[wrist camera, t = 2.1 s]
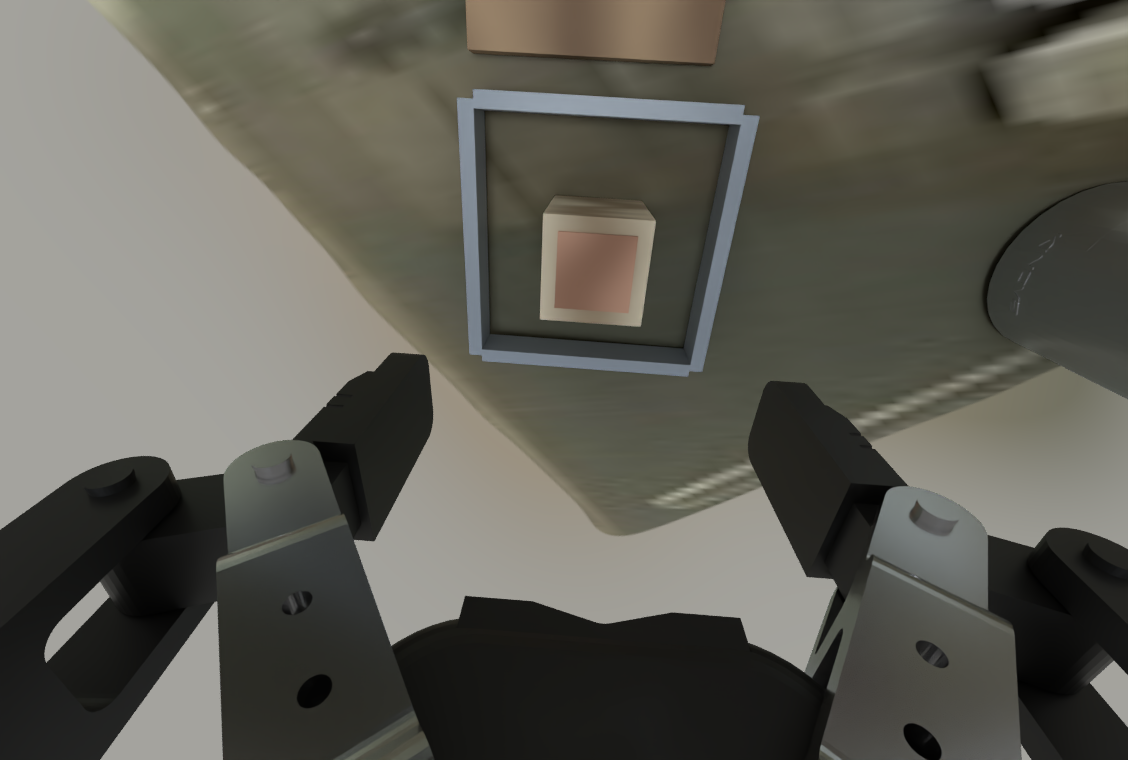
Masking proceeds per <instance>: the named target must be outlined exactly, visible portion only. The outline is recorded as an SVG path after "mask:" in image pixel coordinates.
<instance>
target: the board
mask: <svg viewBox="0 0 1128 760" xmlns="http://www.w3.org/2000/svg"><path fill="white" fill-rule="evenodd" d="M725 1H726V0H466V21H467V47H468V50H469V51H471V52H472V53H477V54H494V55H512V56H529V57H546V58H564V59H584V60H603V61H623V62H642V63H662V64H681V65H701V66H711V65H713V64H715V58H716V52H717V46H718V41H719V35H720V29H721V24H722V18H723V12H724V7H725Z"/></svg>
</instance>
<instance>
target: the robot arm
mask: <svg viewBox="0 0 1128 760" xmlns="http://www.w3.org/2000/svg"><path fill="white" fill-rule="evenodd" d="M987 305H988V314H989V316H990V318H991V321H992V323H993V325H994V326H995V328H996V329H997V330H998V331H999V332H1000V333H1001V334H1002V335H1003V336H1005V337H1006V338H1008V339H1010V340H1011V341H1013V342H1015V343H1017V344H1019V345H1021V346H1023V347H1025V348H1027V349H1029V350H1031V351H1033V352H1035V353H1037V354H1039V355H1041V356H1043V357H1045V358H1047V359H1049V360H1051V361H1053V362H1055V363H1057V364H1059V365H1061V366H1063V367H1065V368H1066V369H1068V370H1070V371H1072V372H1075V373H1076V374H1078V375H1080V376H1082V377H1084V378H1086V379H1088V380H1090V381H1092V382H1094V383H1096V384H1099V385H1100V386H1102V387H1104V388H1106V389H1109V390H1110V391H1112V392H1114V393H1116V394H1118V395H1120V396H1122V397H1125V398H1127V399H1128V182H1127V181H1126V182H1119V183H1111V184H1104V185H1101V186H1098V187H1095V188H1091V189H1088V190H1085V191H1082V192H1080V193H1078V194H1076V195H1074V196H1072V197H1070V198H1068V199H1065V200H1063V201H1061V202H1060V203H1058V204H1057V205H1055V206H1054V207H1052V208H1051V209H1049V210H1048V211H1046V212H1044V213H1043V214H1041V215H1040V216H1039V217H1038V218H1037V219H1035V220H1034V221H1033V222H1032V223H1031V224H1030V225H1029V226H1027V227H1026V228H1025V229H1024V230H1023V231H1022V232H1021V233H1020V234H1019V235H1018V236H1017V238H1016V239H1015V240H1014V241H1013V242H1012V243H1011V245H1010V246H1009V247H1008V248H1007V250H1006V251H1005V253H1004V254H1003V256H1002V258H1001V259H1000V261H999V262H998V264H997V266H996V268H995V271H994V273H993V276H992V278H991V281H990V283H989V289H988V295H987ZM432 424H433V406H432V395H431V385H430V374H429V365H428V360H427V358H426V356H425V355H419V354H405V353H391V354H390V355H389V356H388V357H387V358H386V359H385V360H384V361H383V362H382V364H381V365H380V366H379V367H378V368H377V369H376V370H375V371H374V372H372V371H367V372H365V373H363V374H362V375H360V376H358V377H356V378H354V379H352V380H350V381H349V382H347V384H346V385H345V386H344V387H343V388H342V389H341V390H340V391H339V392H338V393H337V396H334V397H333V398H332V399H331V400H330V401H329V402H328V403H327V406H326V407H323V408H322V410H321V411H320V412H319V413H318V414H317V415H316V416H315V417H314V418H313V419H312V420H311V421H310V422H309V423H308V424H307V425H306V426H305V427H304V428H303V429H302V430H301V431H300V432H299V433H298V434H297V435H296V437H295V438H294V439H293V440H283V441H277V442H272V443H268V444H265V445H261V446H259V447H256V448H254V449H252V450H250V451H248V452H246V453H244V454H243V455H241V456H239V457H238V458H237V459H235V460H234V461H233V462H232V463H231V464H230V465H229V466H228V468H227V469H226V471H225V473H224V474H219V475H213V476H204V477H197V478H189V479H182V480H176V479H175V477H174V475H173V473H172V470H171V468H170V466H169V464H168V463H167V462H166V461H165V460H163V459H161V458H158V457H152V456H138V457H130V458H124V459H120V460H116V461H112V462H109V463H105V464H102V465H100V466H97V467H94V468H92V469H90V470H88V471H85V472H83V473H81V474H79V475H78V476H76V477H74V478H72V479H71V480H69V481H68V482H66V483H65V484H64V485H62V486H61V487H59V488H58V489H56V490H55V491H54V492H52V493H51V494H50V495H48V496H47V497H45V498H44V499H43V500H41V501H40V502H39V503H37V504H36V505H34V506H33V507H31V508H30V509H29V510H27V511H26V512H25V513H23V514H22V515H20V516H19V517H18V518H16V519H15V520H13V521H12V522H11V523H9V524H8V525H6V526H5V527H4V528H2V529H1V530H0V760H100V759H101V758H102V756H103V755H104V753H105V752H106V751H107V749H108V748H109V747H110V745H111V744H112V742H113V741H114V740H115V738H116V737H117V736H118V734H119V733H120V732H121V730H122V729H123V727H124V726H125V725H126V723H127V722H128V720H129V719H130V718H131V716H132V715H133V714H134V712H135V711H136V709H137V708H138V707H139V705H140V704H141V703H142V701H143V700H144V698H145V697H146V696H147V694H148V693H149V692H150V690H151V689H152V687H153V686H154V685H155V683H156V682H157V681H158V679H159V677H160V676H161V675H162V674H163V672H164V671H165V670H166V668H167V667H168V665H169V664H170V662H171V661H172V659H173V658H174V657H175V656H176V654H177V653H178V652H179V650H180V649H181V647H182V646H183V645H184V643H185V642H186V641H187V639H188V638H189V636H190V635H191V634H192V632H193V631H194V630H195V628H196V627H197V625H198V624H199V623H200V621H201V620H202V618H203V617H204V616H205V614H206V613H207V611H208V610H209V609H210V607H211V606H212V605H213V603H214V602H216V601H217V604H218V633H219V662H220V690H221V718H222V747H223V760H1022V757H1021V744H1022V746H1023V748H1024V749H1025V750H1026V752H1027V754H1028V755H1029V757H1030V758H1031V760H1128V727H1127V726H1126V725H1125V724H1124V722H1123V721H1122V720H1121V719H1120V718H1119V717H1118V715H1117V714H1116V713H1115V712H1114V711H1113V710H1112V708H1111V707H1110V706H1109V705H1108V704H1107V703H1106V701H1105V700H1104V699H1103V698H1102V697H1101V695H1100V694H1099V693H1098V692H1097V691H1096V690H1095V689H1094V687H1093V686H1092V685H1091V684H1090V682H1091V681H1092V680H1093V679H1094V678H1095V677H1096V676H1097V675H1098V674H1099V673H1101V672H1102V671H1103V670H1104V669H1105V668H1106V667H1107V666H1108V665H1109V664H1110V663H1112V662H1113V661H1115V662H1116V663H1117V664H1118V665H1119V666H1120V667H1121V668H1122V669H1123V670H1124V671H1125V673H1126V674H1128V549H1126V548H1124V547H1123V546H1121V545H1119V544H1116V543H1114V542H1112V541H1110V540H1108V539H1105V538H1103V537H1100V536H1097V535H1094V534H1091V533H1088V532H1085V531H1081V530H1077V529H1070V528H1054V529H1051V530H1049V531H1048V532H1047V533H1046V534H1045V536H1044V537H1043V538H1042V539H1041V541H1040V542H1039V543H1038V544H1037V546H1036V547H1035V548H1033V547H1029V546H1025V545H1022V544H1018V543H1015V542H1011V541H1008V540H1004V539H1000V538H997V537H993V536H989V535H987V532H986V530H985V528H984V527H983V525H982V524H981V522H980V521H979V520H978V519H977V518H976V517H975V516H973V515H972V514H971V513H970V512H969V511H967V510H966V509H965V508H963V507H962V506H960V505H959V504H957V503H955V502H954V501H952V500H950V499H948V498H946V497H944V496H942V495H939V494H937V493H934V492H931V491H928V490H925V489H921V488H916V487H910V486H908V485H907V484H906V483H905V482H904V481H903V480H902V479H901V477H900V476H899V475H898V474H897V473H896V472H895V471H894V470H893V468H892V467H891V466H890V465H889V464H888V463H887V462H886V461H885V460H884V459H883V457H882V456H881V455H880V454H879V453H878V452H877V451H876V450H875V449H872V446H871V444H870V443H869V442H868V441H867V440H866V439H865V437H864V436H861V433H860V432H859V431H858V430H857V429H856V427H855V426H854V425H853V424H852V423H851V422H850V421H849V420H848V419H847V418H846V417H844V416H843V415H841V414H839V413H838V412H836V411H835V410H833V409H832V408H830V407H829V406H826V405H824V404H823V403H822V401H821V400H820V399H819V398H818V397H817V396H816V394H815V393H814V392H813V391H812V390H811V389H810V387H809V386H808V385H807V384H805V383H795V382H781V381H770V382H768V383H767V384H766V386H765V388H764V390H763V393H762V397H761V400H760V403H759V406H758V410H757V413H756V416H755V419H754V422H753V426H752V429H751V432H750V436H749V441H748V453H749V459H750V462H751V464H752V466H753V468H754V470H755V472H756V474H757V476H758V478H759V480H760V482H761V484H762V486H763V488H764V490H765V492H766V494H767V497H768V499H769V500H770V503H771V505H772V507H773V509H774V511H775V513H776V515H777V517H778V519H779V521H780V523H781V525H782V527H783V529H784V531H785V533H786V535H787V537H788V539H789V541H790V543H791V545H792V548H793V550H794V551H795V553H796V556H797V558H798V559H799V561H800V564H801V566H802V568H803V570H804V572H805V574H806V576H807V577H815V578H828V579H834V581H835V583H836V584H837V588H836V590H835V591H834V593H833V595H832V597H831V599H830V602H829V605H828V608H827V611H826V613H825V616H824V619H823V622H822V625H821V628H820V630H819V633H818V636H817V639H816V642H815V644H814V647H813V650H812V653H811V656H810V658H809V661H808V664H807V667H806V670H805V672H803V671H801V670H800V669H798V668H797V667H795V666H794V665H793V664H791V663H789V662H788V661H786V660H784V659H782V658H780V657H779V656H777V655H775V654H773V653H771V652H769V651H767V650H764V649H762V648H760V647H758V646H755V645H753V644H750V643H748V641H747V638H746V635H745V632H744V628H743V625H742V622H741V619H740V618H734V617H721V616H708V615H696V614H683V613H667V614H661V615H656V616H650V617H644V618H638V619H633V620H627V621H621V622H616V623H610V624H600V623H596V622H593V621H590V620H586V619H584V618H581V617H577V616H575V615H572V614H569V613H566V612H563V611H560V610H556V609H554V608H550V607H548V606H544V605H542V604H539V603H536V602H533V601H522V600H508V599H497V598H484V597H471V596H465V599H464V602H463V606H462V610H461V614H460V617H459V619H455V620H449V621H445V622H442V623H439V624H435V625H432V626H429V627H427V628H425V629H422V630H420V631H417V632H415V633H413V634H411V635H409V636H407V637H406V638H404V639H402V640H400V641H398V642H397V643H395V644H394V645H392V646H391V644H390V641H389V639H388V636H387V633H386V630H385V627H384V625H383V622H382V619H381V616H380V613H379V610H378V608H377V605H376V602H375V599H374V596H373V593H372V591H371V588H370V585H369V583H368V579H367V576H366V574H365V571H364V569H363V565H362V563H361V560H360V557H359V554H358V551H357V548H356V545H355V543H354V540H365V541H375V539H376V537H377V535H378V533H379V531H380V530H381V527H382V526H383V524H384V522H385V520H386V518H387V516H388V514H389V512H390V510H391V508H392V507H393V505H394V503H395V501H396V499H397V497H398V495H399V493H400V491H401V489H402V487H403V486H404V484H405V482H406V480H407V478H408V476H409V474H410V472H411V470H412V468H413V467H414V465H415V463H416V461H417V459H418V457H419V455H420V453H421V451H422V449H423V447H424V445H425V444H426V442H427V440H428V438H429V436H430V433H431V428H432ZM99 582H101V583H102V585H103V587H104V588H105V590H106V591H107V593H108V595H109V596H110V597H109V598H108V599H107V600H106V601H105V602H104V603H103V604H102V605H101V607H100V608H99V609H98V610H97V611H96V612H95V613H94V614H93V615H92V616H91V617H90V618H89V619H88V620H87V621H86V622H85V623H84V624H83V625H82V626H81V628H79V629H78V630H77V631H76V633H75V634H74V635H73V636H72V637H71V638H70V639H69V640H68V641H67V642H66V643H65V644H64V645H63V646H62V647H61V648H60V650H58V652H56V654H54V655H53V657H52V658H51V659H50V660H49V661H48V662H47V663H46V662H45V658H44V652H45V646H46V643H47V640H48V638H49V636H50V634H51V632H52V630H53V629H54V628H55V626H56V625H57V624H58V622H59V621H60V620H61V619H62V618H63V617H64V616H65V615H66V614H67V613H68V612H69V611H70V610H71V609H72V608H73V607H74V606H75V605H76V604H77V603H78V602H79V601H80V600H81V599H82V598H83V597H84V596H85V595H86V594H87V593H88V592H89V591H90V590H91V589H92V588H94V587H95V585H96V584H97V583H99Z"/></svg>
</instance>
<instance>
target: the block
mask: <svg viewBox="0 0 1128 760" xmlns="http://www.w3.org/2000/svg"><path fill="white" fill-rule="evenodd" d="M655 225H656V220H655V219H654V217H653V216H652V215H651V213H650V212H649V210H648V209H647V207H646V206H645V205H644V203H643V202H642V201H638V200H624V199H610V198H595V197H579V196H564V195H555V196H554V198H553V199H552V201H551V202H550V204H549V205H548V207H547V208H546V210H545V211H544V213H543V234H542V267H541V299H540V319H542V320H555V321H569V322H583V323H596V324H610V325H624V326H637V327H641V321H642V314H643V308H644V301H645V294H646V287H647V280H648V273H649V266H650V259H651V252H652V245H653V238H654V232H655Z"/></svg>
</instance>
